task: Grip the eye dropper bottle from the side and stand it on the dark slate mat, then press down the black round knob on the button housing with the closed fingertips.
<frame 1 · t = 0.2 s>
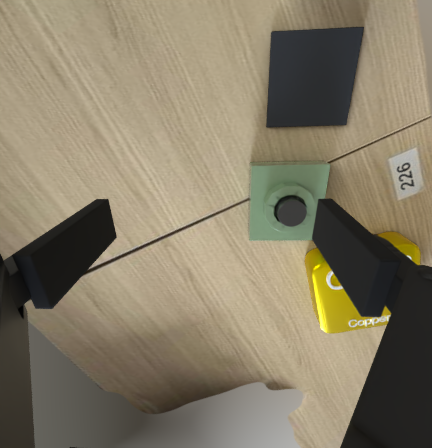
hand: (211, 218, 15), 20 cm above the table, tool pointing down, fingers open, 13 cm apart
black round knob: (290, 211, 31), point 5 cm above the table, slide at 0.1 cm
slate mat: (310, 81, 29), on the table
button housing: (282, 199, 36), on the table
element tile: (353, 276, 41), on the table
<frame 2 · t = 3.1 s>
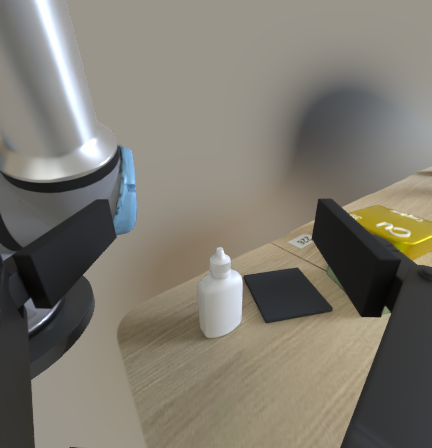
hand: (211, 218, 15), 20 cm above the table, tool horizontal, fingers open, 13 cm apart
slate mat: (283, 293, 38), on the table
element tile: (384, 239, 53), on the table
eye dropper bottle: (221, 326, 33), on the table
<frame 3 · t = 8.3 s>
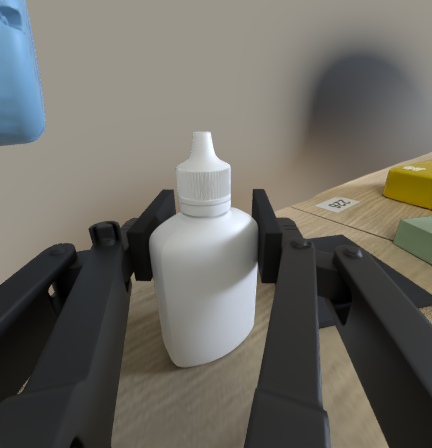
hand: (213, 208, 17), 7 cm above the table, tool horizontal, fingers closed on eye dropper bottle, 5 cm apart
slate mat: (328, 273, 21), on the table
eye dropper bottle: (210, 338, 15), on the table, touching gripper
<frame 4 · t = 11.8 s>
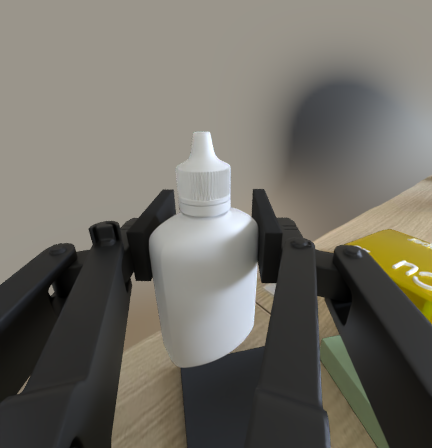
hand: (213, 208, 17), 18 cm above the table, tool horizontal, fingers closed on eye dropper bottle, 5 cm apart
slate mat: (241, 408, 22), on the table
button housing: (402, 391, 23), on the table
element tile: (402, 283, 37), on the table
eye dropper bottle: (210, 338, 15), point 11 cm above the table, touching gripper
when the fingers open (7 cm above the table, at t = 15.3 s): eye dropper bottle stays where it is, resting on slate mat.
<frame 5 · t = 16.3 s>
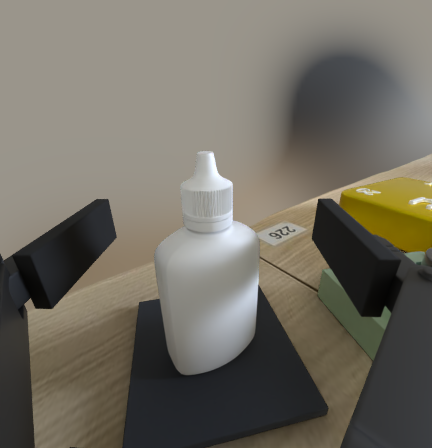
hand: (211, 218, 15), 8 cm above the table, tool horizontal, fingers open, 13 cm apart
slate mat: (212, 349, 16), on the table
button housing: (430, 331, 17), on the table
element tile: (419, 230, 31), on the table
eye dropper bottle: (213, 345, 16), resting on slate mat
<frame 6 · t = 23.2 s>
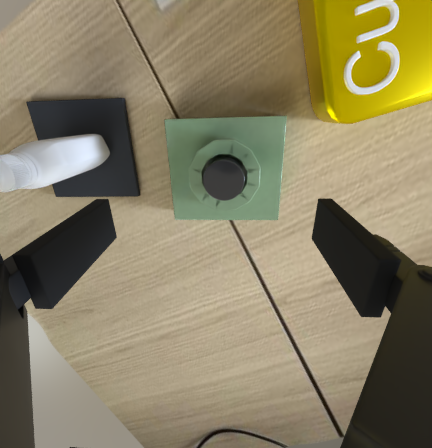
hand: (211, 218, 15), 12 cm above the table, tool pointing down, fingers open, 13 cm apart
black round knob: (224, 178, 22), point 5 cm above the table, slide at 0.1 cm
slate mat: (88, 151, 26), on the table
button housing: (226, 167, 26), on the table
element tile: (393, 6, 20), on the table
eye dropper bottle: (87, 152, 26), resting on slate mat
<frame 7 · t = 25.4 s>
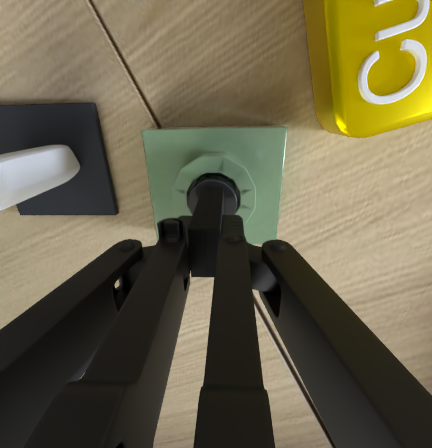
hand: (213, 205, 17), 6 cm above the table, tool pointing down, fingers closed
black round knob: (213, 200, 18), point 5 cm above the table, slide at -0.2 cm, touching gripper
slate mat: (56, 163, 23), on the table
button housing: (216, 183, 23), on the table
eye dropper bottle: (54, 165, 22), resting on slate mat
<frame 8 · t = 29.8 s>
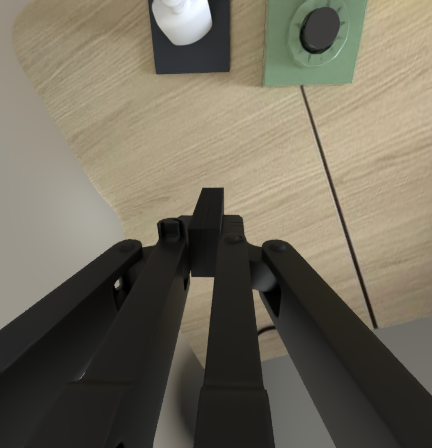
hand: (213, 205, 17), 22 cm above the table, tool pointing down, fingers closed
black round knob: (319, 30, 27), point 5 cm above the table, slide at 0.1 cm
slate mat: (190, 27, 31), on the table
button housing: (307, 42, 31), on the table
eye dropper bottle: (190, 27, 31), resting on slate mat
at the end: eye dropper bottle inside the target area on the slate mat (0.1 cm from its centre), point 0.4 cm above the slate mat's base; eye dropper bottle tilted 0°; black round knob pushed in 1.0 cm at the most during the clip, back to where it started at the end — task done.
